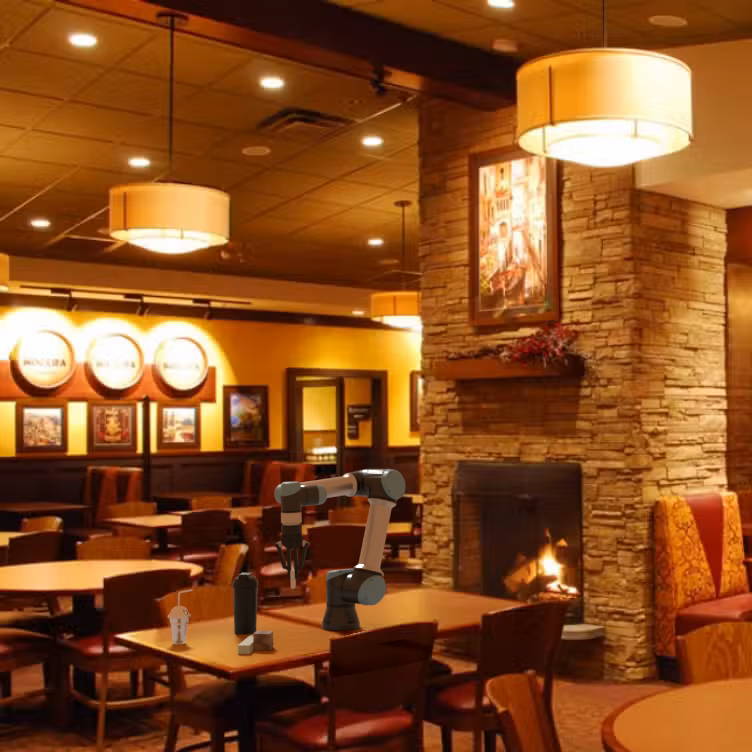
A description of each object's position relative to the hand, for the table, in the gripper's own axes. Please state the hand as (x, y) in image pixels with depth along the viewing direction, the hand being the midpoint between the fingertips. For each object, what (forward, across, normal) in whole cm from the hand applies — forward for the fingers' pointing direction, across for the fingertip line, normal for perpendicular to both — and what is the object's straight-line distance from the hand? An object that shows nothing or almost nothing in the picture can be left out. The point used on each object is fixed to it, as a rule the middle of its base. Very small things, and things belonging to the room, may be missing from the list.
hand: (293, 587), depth 412 cm
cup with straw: (+20, +43, 0) cm, 47 cm away
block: (+20, +10, +9) cm, 25 cm away
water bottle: (+21, +23, -23) cm, 39 cm away
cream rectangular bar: (+20, +15, +9) cm, 27 cm away
